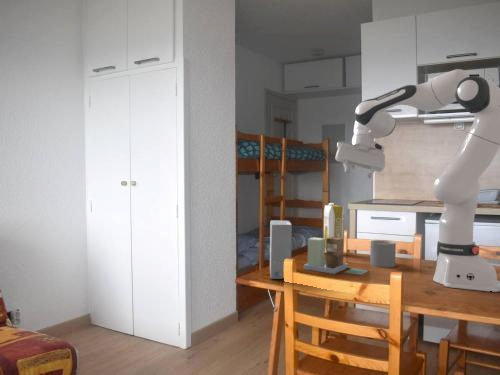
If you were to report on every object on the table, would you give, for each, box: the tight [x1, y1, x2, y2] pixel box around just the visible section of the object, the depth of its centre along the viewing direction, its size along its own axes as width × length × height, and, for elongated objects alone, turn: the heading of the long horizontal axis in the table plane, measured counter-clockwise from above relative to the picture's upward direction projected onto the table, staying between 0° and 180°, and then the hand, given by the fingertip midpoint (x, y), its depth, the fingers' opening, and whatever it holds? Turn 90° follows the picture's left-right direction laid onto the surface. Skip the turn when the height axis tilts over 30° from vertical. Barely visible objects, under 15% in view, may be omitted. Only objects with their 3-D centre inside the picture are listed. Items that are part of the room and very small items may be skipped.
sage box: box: [307, 236, 326, 267], centre depth 176 cm, size 5×5×12 cm
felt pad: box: [344, 267, 369, 276], centre depth 172 cm, size 7×8×1 cm
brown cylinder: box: [325, 237, 344, 269], centre depth 177 cm, size 5×5×12 cm
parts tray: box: [303, 259, 349, 275], centre depth 177 cm, size 13×13×2 cm
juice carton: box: [323, 202, 345, 254], centre depth 209 cm, size 9×8×24 cm
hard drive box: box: [269, 220, 293, 280], centre depth 168 cm, size 16×8×20 cm, turn 179°
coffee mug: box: [369, 239, 397, 268], centre depth 185 cm, size 13×10×10 cm
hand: (358, 174), depth 180 cm, fingers open, 8 cm apart
